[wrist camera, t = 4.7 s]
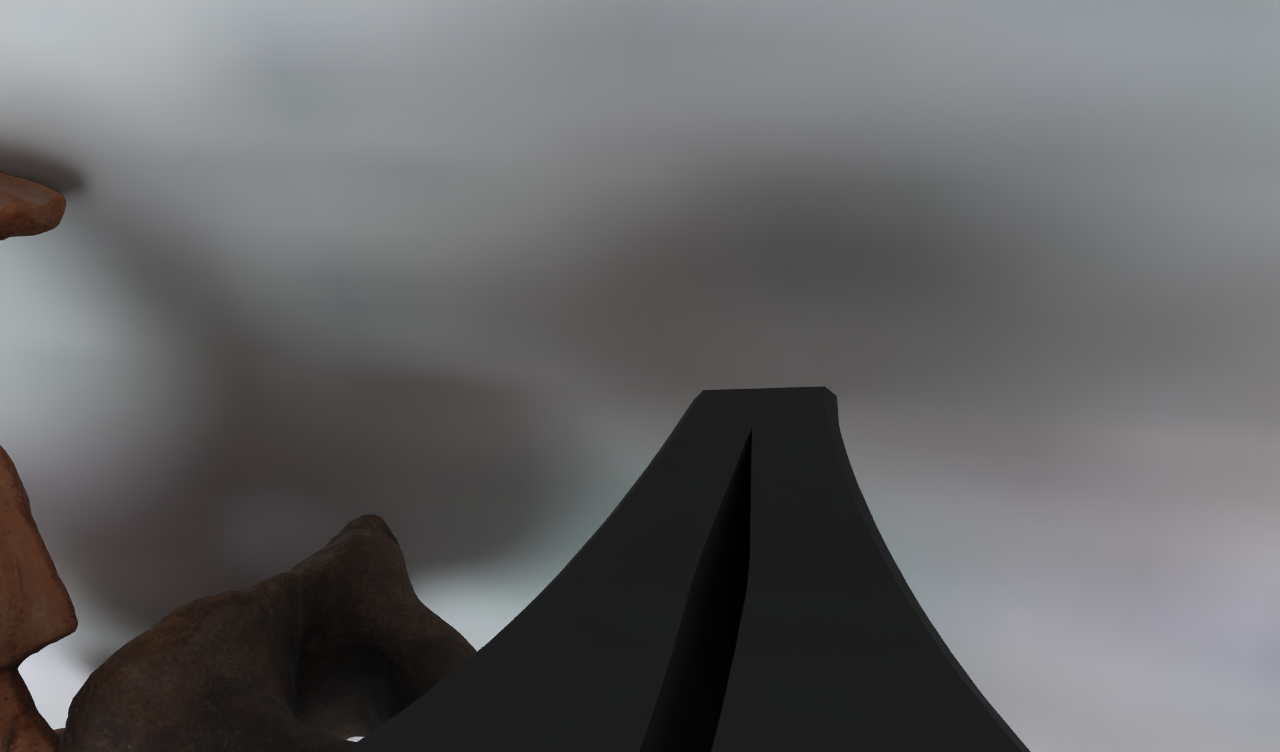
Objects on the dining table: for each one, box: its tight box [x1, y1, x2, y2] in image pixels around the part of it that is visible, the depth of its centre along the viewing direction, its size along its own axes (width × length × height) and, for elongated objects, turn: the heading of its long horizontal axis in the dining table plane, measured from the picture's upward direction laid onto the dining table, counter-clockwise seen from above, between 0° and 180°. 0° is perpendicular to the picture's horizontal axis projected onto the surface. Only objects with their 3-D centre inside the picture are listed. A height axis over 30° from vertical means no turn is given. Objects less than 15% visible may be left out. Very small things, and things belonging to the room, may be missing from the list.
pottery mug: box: [0, 172, 477, 752], centre depth 14 cm, size 12×10×8 cm
